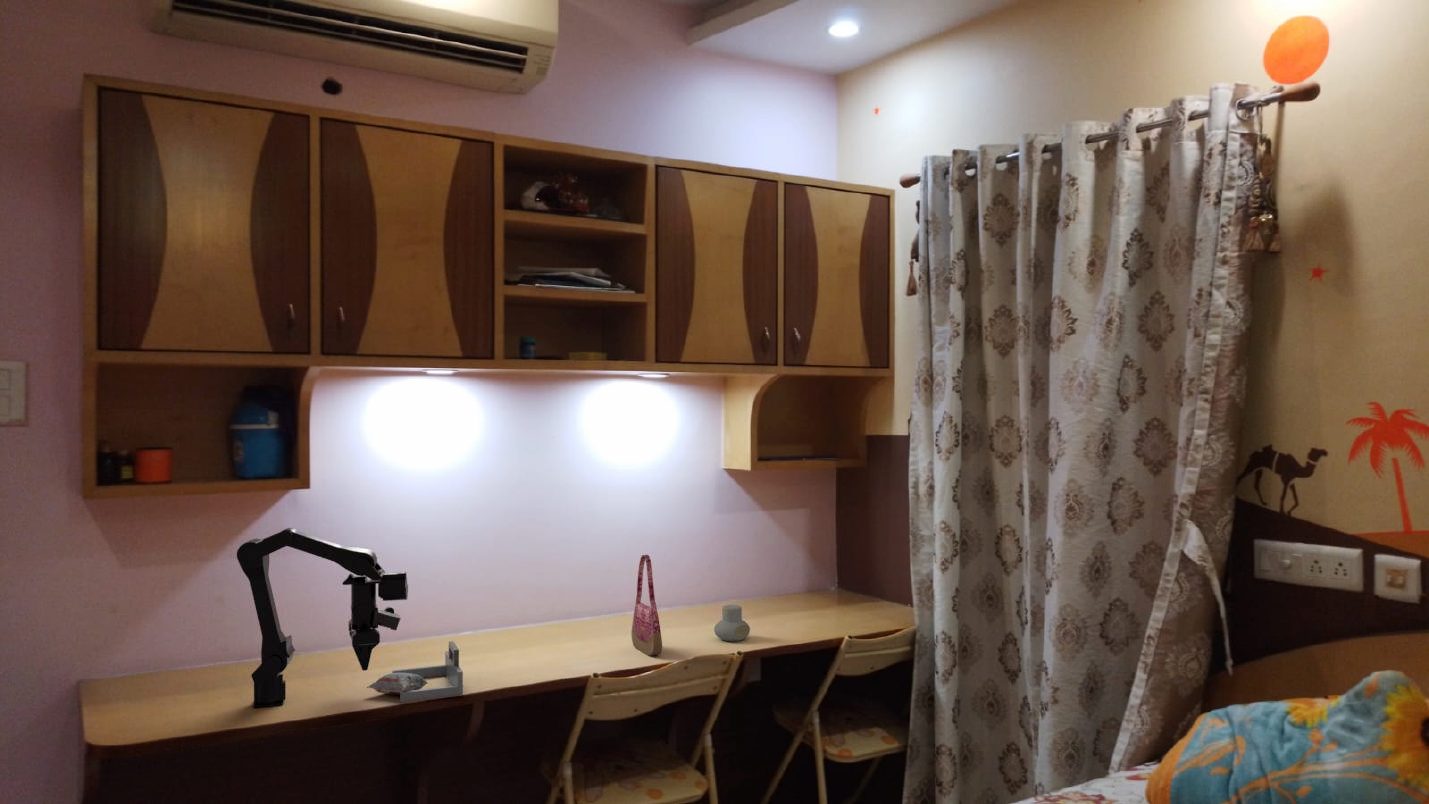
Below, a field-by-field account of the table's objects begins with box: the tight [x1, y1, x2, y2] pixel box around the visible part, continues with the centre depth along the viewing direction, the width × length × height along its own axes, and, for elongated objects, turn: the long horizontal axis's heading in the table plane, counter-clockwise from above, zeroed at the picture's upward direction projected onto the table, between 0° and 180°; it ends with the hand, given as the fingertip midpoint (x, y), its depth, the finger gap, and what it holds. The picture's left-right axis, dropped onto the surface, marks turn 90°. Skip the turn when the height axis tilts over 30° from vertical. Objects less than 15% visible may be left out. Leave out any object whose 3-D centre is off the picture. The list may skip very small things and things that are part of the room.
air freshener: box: [713, 604, 751, 643], centre depth 291 cm, size 11×8×10 cm
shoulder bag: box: [631, 554, 663, 657], centre depth 277 cm, size 17×3×28 cm, turn 27°
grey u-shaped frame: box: [391, 640, 464, 704], centre depth 241 cm, size 15×21×10 cm
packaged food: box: [366, 672, 428, 695], centre depth 236 cm, size 9×12×5 cm
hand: (363, 665), depth 234 cm, fingers open, 9 cm apart
